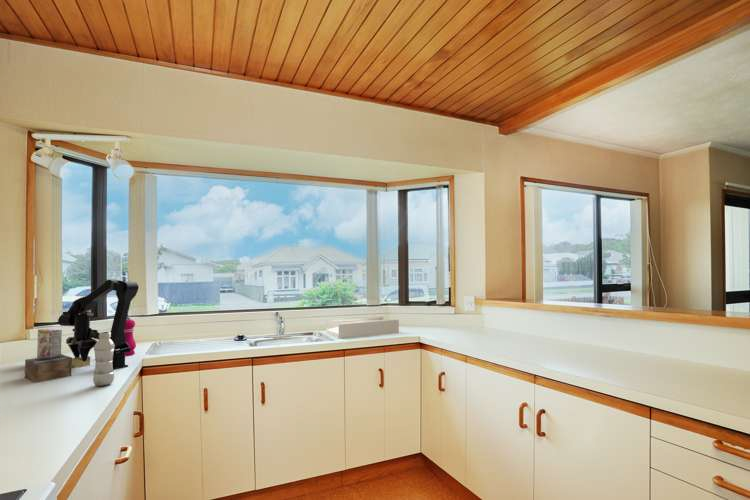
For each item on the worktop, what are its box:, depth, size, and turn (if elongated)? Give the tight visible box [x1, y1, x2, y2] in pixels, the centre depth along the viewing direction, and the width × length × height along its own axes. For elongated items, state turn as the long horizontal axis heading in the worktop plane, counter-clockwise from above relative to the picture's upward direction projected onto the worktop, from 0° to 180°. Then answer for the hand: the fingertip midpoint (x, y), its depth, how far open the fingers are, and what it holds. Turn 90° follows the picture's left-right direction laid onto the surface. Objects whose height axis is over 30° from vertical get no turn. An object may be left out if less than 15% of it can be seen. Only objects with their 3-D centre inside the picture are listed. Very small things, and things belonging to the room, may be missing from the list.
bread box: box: [325, 316, 400, 339], centre depth 265 cm, size 45×22×10 cm, turn 118°
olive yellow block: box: [72, 355, 91, 369], centre depth 178 cm, size 6×4×4 cm, turn 146°
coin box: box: [24, 353, 73, 384], centre depth 159 cm, size 12×12×8 cm
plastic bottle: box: [92, 331, 115, 387], centre depth 147 cm, size 6×7×20 cm
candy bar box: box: [36, 327, 63, 358], centre depth 182 cm, size 11×5×16 cm, turn 65°
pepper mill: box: [124, 316, 137, 357], centre depth 201 cm, size 7×7×20 cm
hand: (80, 360), depth 178 cm, fingers open, 8 cm apart
